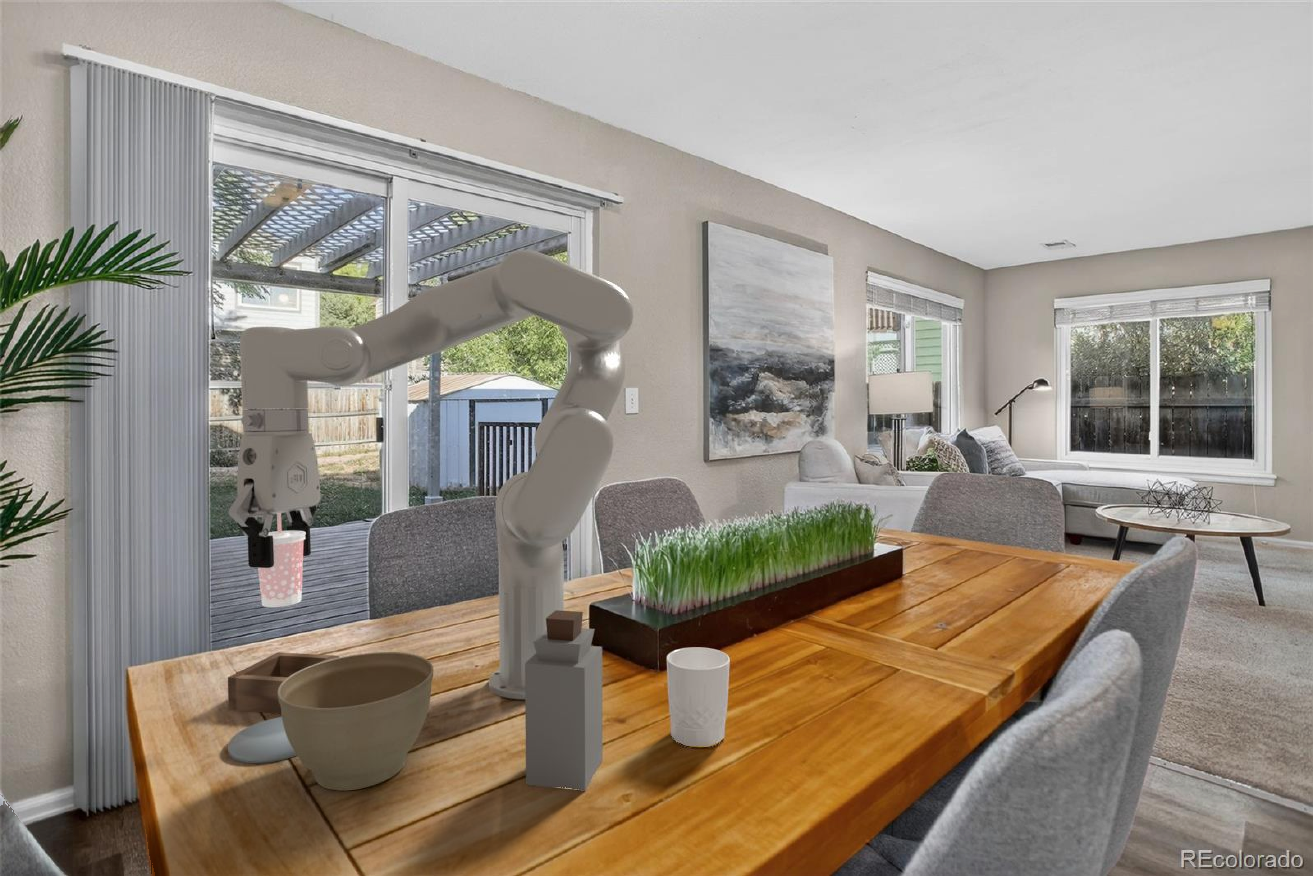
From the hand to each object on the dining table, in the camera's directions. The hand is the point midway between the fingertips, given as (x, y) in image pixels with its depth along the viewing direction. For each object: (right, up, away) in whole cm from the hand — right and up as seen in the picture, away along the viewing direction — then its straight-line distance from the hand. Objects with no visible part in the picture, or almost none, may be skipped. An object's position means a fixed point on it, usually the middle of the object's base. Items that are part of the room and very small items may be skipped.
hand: (280, 559), depth 92 cm
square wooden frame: (-4, -21, +8) cm, 23 cm away
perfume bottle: (+39, -22, -12) cm, 46 cm away
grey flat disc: (+3, -21, -5) cm, 22 cm away
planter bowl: (+15, -22, -12) cm, 30 cm away
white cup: (+54, -22, -4) cm, 59 cm away
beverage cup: (0, -6, 0) cm, 6 cm away
